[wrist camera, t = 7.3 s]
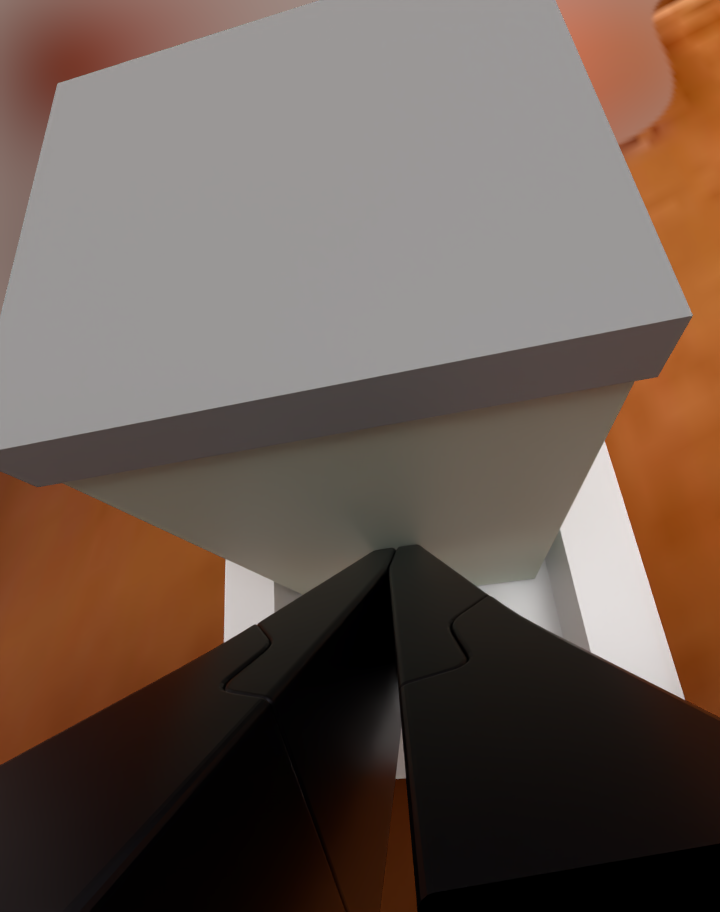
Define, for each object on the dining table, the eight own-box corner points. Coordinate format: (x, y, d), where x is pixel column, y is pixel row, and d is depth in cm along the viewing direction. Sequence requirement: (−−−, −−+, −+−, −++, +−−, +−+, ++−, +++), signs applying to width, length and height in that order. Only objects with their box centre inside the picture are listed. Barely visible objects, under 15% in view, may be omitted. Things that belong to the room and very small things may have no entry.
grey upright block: (539, 581, 13) (692, 314, 4) (320, 608, 14) (-35, 456, 4) (499, 404, 15) (526, -66, 6) (311, 437, 16) (57, 82, 7)
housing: (680, 750, 13) (770, 783, 9) (257, 779, 15) (169, 817, 10) (553, 323, 18) (573, 221, 14) (255, 382, 20) (197, 307, 16)
